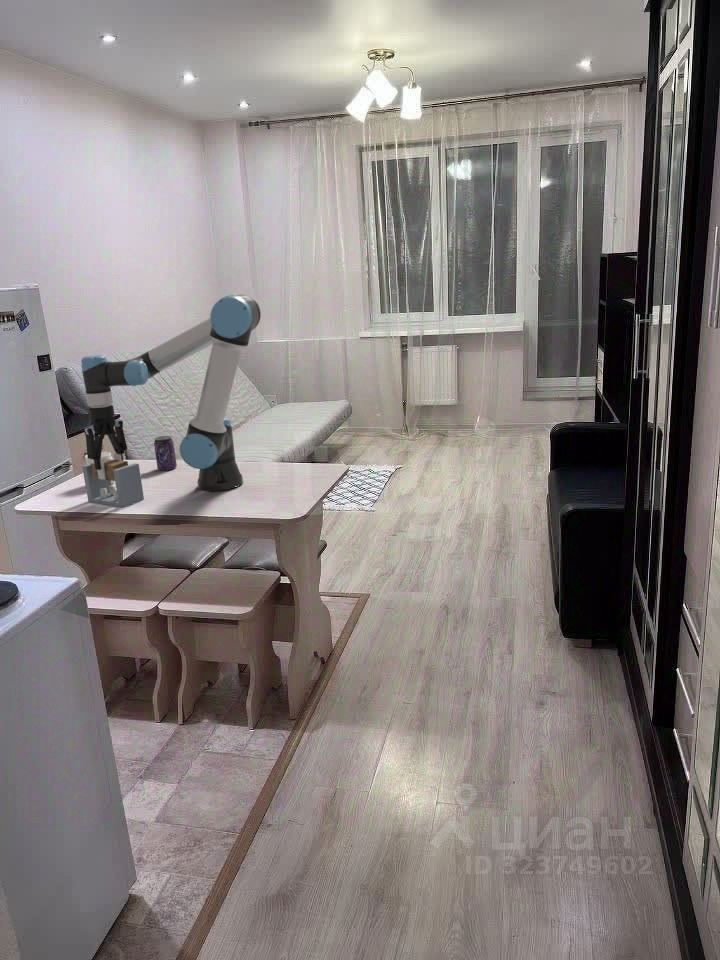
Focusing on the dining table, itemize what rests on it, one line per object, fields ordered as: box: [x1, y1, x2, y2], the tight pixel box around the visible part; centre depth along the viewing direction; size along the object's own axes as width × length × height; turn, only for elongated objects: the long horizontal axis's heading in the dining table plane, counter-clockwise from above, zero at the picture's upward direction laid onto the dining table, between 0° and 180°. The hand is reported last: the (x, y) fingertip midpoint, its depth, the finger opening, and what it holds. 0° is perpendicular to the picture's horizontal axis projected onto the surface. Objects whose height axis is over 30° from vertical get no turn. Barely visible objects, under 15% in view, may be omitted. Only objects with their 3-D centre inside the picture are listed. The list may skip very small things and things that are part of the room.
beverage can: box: [153, 435, 178, 471], centre depth 268 cm, size 7×7×12 cm
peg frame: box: [81, 462, 145, 508], centre depth 232 cm, size 17×8×12 cm, turn 58°
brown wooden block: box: [91, 459, 129, 481], centre depth 231 cm, size 10×6×5 cm, turn 65°
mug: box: [84, 451, 115, 485], centre depth 255 cm, size 9×12×11 cm
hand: (111, 475), depth 231 cm, fingers closed on brown wooden block, 6 cm apart
